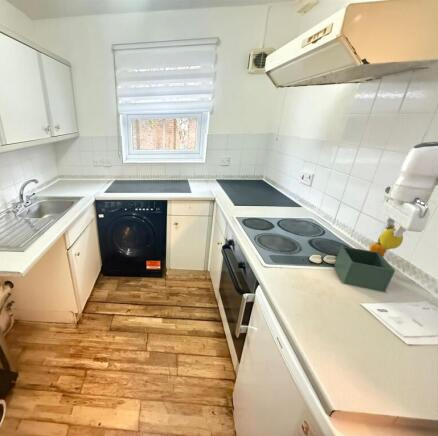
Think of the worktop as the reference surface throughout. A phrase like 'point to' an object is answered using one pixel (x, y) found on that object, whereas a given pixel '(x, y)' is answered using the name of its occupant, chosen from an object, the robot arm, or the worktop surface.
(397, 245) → the lemon
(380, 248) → the carrot
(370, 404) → the worktop surface
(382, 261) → the bin
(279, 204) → the worktop surface
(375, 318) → the worktop surface
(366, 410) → the worktop surface
